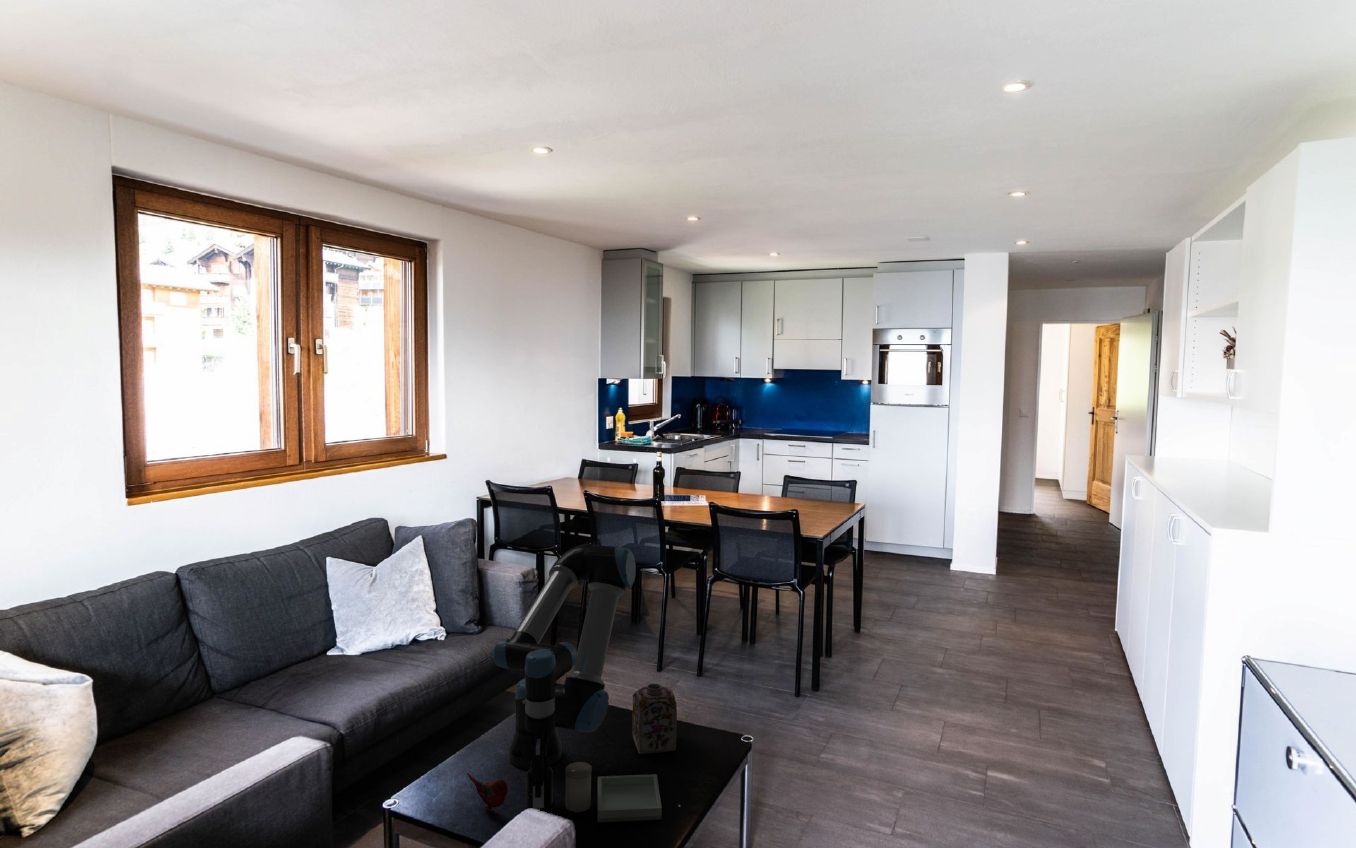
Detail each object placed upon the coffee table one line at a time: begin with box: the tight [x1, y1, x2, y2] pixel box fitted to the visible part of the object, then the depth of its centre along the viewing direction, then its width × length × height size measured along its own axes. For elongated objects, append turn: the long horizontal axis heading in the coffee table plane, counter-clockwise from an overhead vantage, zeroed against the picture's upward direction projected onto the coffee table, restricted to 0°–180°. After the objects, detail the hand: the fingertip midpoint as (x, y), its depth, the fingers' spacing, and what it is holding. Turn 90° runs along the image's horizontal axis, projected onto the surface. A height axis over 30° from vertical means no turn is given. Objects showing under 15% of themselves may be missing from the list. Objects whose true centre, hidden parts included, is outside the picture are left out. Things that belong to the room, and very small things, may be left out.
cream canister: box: [564, 761, 593, 813], centre depth 192 cm, size 7×7×10 cm
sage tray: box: [597, 773, 663, 823], centre depth 193 cm, size 16×16×3 cm
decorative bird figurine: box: [466, 773, 509, 816], centre depth 189 cm, size 3×18×10 cm, turn 49°
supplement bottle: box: [525, 756, 554, 812], centre depth 191 cm, size 7×7×12 cm
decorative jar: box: [631, 683, 678, 755], centre depth 225 cm, size 12×12×18 cm
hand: (539, 799), depth 191 cm, fingers closed on supplement bottle, 7 cm apart
